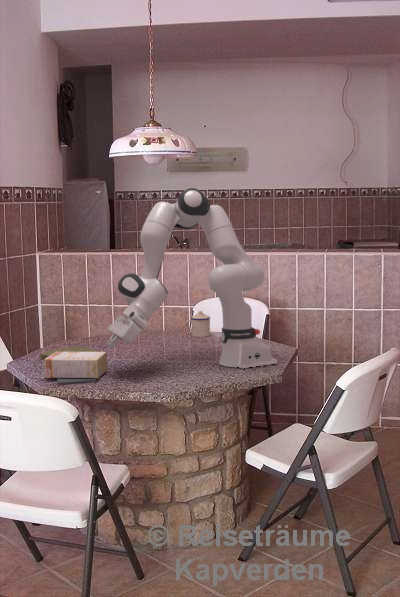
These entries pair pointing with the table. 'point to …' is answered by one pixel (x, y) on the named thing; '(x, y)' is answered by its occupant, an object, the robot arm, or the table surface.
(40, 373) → the table surface
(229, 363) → the robot arm
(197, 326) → the teacup with lid
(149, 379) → the table surface
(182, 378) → the table surface
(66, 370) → the coffeecake box
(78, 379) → the mat
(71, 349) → the decorative tile
